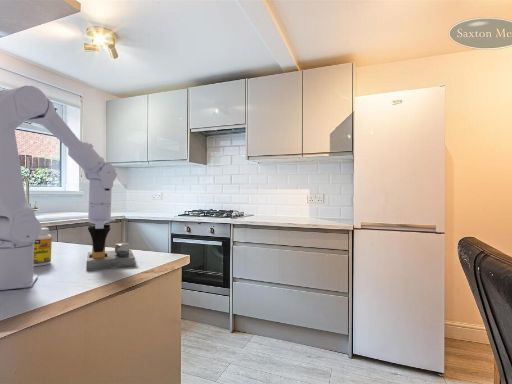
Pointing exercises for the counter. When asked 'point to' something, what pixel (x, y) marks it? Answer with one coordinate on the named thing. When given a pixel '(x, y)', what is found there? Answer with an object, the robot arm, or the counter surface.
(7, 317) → the counter surface
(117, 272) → the counter surface
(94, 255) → the orange rectangular box
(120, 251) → the gray tray with knob
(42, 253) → the supplement bottle
